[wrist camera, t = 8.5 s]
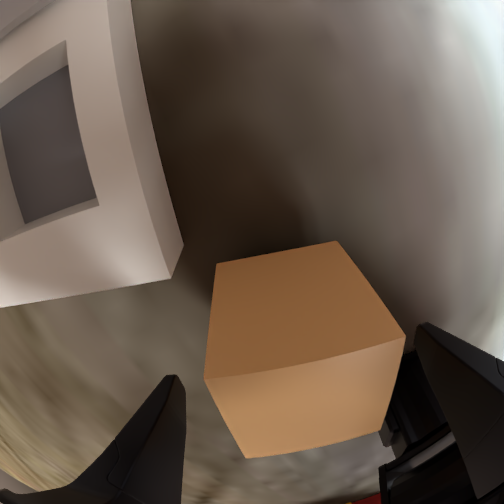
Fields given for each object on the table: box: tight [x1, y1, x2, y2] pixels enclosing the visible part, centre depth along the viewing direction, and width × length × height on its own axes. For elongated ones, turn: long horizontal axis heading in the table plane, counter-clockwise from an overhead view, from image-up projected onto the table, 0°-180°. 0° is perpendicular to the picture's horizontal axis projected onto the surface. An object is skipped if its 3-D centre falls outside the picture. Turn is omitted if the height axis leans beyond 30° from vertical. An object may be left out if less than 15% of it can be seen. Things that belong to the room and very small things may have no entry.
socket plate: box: [0, 0, 184, 308], centre depth 8 cm, size 14×18×3 cm
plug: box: [204, 241, 406, 458], centre depth 11 cm, size 5×5×8 cm
